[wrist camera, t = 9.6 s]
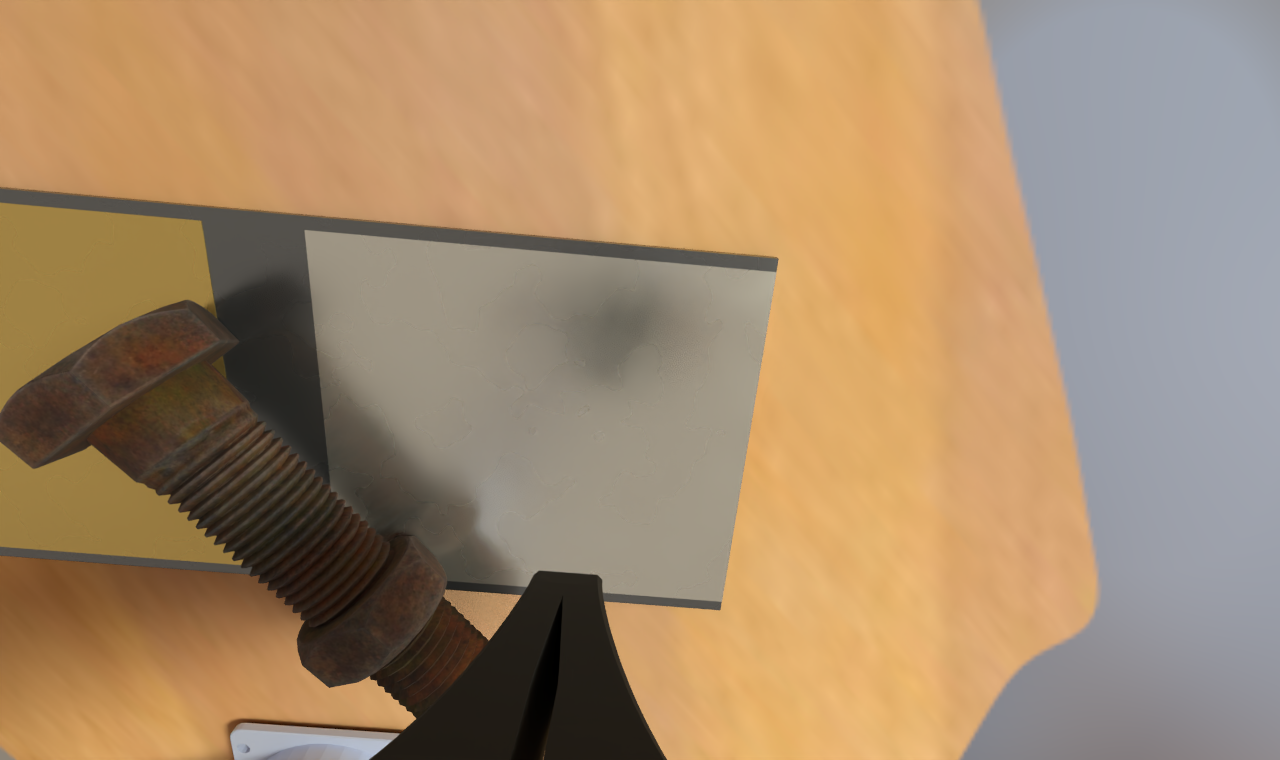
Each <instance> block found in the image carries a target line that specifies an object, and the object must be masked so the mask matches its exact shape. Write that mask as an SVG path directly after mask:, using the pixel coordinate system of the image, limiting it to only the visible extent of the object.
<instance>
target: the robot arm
mask: <svg viewBox="0 0 1280 760" xmlns="http://www.w3.org/2000/svg"><path fill="white" fill-rule="evenodd" d="M230 740H231V745H232V750H233V755H234V760H667V759H666V757H665V756H664V754H663V752H662V750H661V749H660V747H659V745H658V743H657V741H656V739H655V738H654V736H653V734H652V732H651V730H650V728H649V726H648V724H647V722H646V720H645V718H644V716H643V714H642V712H641V710H640V708H639V706H638V704H637V701H636V699H635V697H634V695H633V692H632V690H631V688H630V685H629V683H628V680H627V677H626V675H625V672H624V670H623V667H622V664H621V662H620V659H619V656H618V653H617V650H616V647H615V643H614V640H613V637H612V634H611V630H610V627H609V623H608V619H607V614H606V610H605V605H604V599H603V589H602V579H601V578H600V577H599V576H598V575H594V574H581V573H567V572H554V571H540V570H539V571H538V572H537V573H535V574H534V575H533V577H532V579H531V581H530V583H529V585H528V586H527V588H526V590H525V591H524V593H523V594H522V596H521V598H520V599H519V601H518V602H517V604H516V605H515V607H514V608H513V609H512V611H511V612H510V614H509V615H508V617H507V618H506V619H505V621H504V622H503V623H502V625H501V626H500V627H499V629H498V630H497V631H496V633H495V634H494V635H493V637H492V638H491V639H490V641H489V642H488V643H487V644H486V646H485V647H484V648H483V649H482V650H481V651H480V653H479V654H478V655H477V656H476V657H475V658H474V660H473V661H472V662H471V663H470V664H469V666H468V667H467V668H466V669H465V670H464V671H463V673H462V674H461V675H460V676H459V677H458V678H457V679H456V680H455V681H454V682H453V683H452V684H451V686H450V687H449V688H448V689H447V690H446V691H445V692H444V693H443V694H442V695H441V696H440V697H439V698H438V699H437V700H436V701H435V702H434V703H433V704H432V705H431V706H430V707H429V708H428V709H427V710H426V711H425V712H424V713H422V714H421V715H420V716H419V717H418V718H417V719H416V720H415V721H414V722H413V723H411V724H410V725H409V726H408V727H407V728H406V729H405V730H404V731H403V732H402V733H386V732H372V731H357V730H343V729H329V728H315V727H300V726H286V725H272V724H258V723H240V724H238V725H237V726H236V727H235V728H234V730H233V731H232V732H231V734H230ZM544 753H545V754H544ZM543 757H544V759H543Z"/></svg>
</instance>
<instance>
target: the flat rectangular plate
mask: <svg viewBox="0 0 1280 760" xmlns="http://www.w3.org/2000/svg"><path fill="white" fill-rule="evenodd" d="M777 265H778V258H777V257H768V256H757V255H746V254H735V253H724V252H713V251H702V250H691V249H680V248H669V247H657V246H646V245H635V244H624V243H613V242H602V241H591V240H580V239H569V238H558V237H547V236H535V235H524V234H513V233H502V232H491V231H480V230H469V229H458V228H447V227H436V226H425V225H413V224H402V223H391V222H380V221H369V220H358V219H347V218H336V217H325V216H314V215H303V214H291V213H280V212H269V211H258V210H247V209H236V208H225V207H214V206H203V205H192V204H181V203H169V202H158V201H147V200H136V199H125V198H114V197H103V196H92V195H81V194H70V193H59V192H47V191H36V190H25V189H14V188H3V187H0V412H1V410H2V409H3V407H4V405H5V404H6V402H7V401H8V399H9V398H10V397H11V396H12V395H13V394H14V393H15V392H16V391H17V390H18V389H19V388H21V387H22V386H24V385H25V384H26V383H28V382H29V381H31V380H32V379H34V378H35V377H37V376H38V375H40V374H41V373H43V372H44V371H46V370H47V369H49V368H50V367H52V366H53V365H55V364H56V363H57V362H59V361H60V360H62V359H63V358H65V357H66V356H68V355H70V354H71V353H73V352H75V351H76V350H78V349H80V348H81V347H83V346H85V345H86V344H88V343H90V342H91V341H93V340H95V339H96V338H98V337H100V336H101V335H103V334H105V333H107V332H108V331H110V330H112V329H113V328H115V327H117V326H118V325H120V324H122V323H125V322H127V321H129V320H132V319H134V318H136V317H139V316H141V315H144V314H146V313H149V312H151V311H153V310H156V309H158V308H161V307H163V306H167V305H170V304H173V303H177V302H180V301H183V300H191V301H194V302H195V303H197V304H199V305H201V306H202V307H204V308H205V309H206V310H208V311H209V312H210V313H212V314H213V315H214V316H215V317H216V318H217V319H218V320H219V321H220V322H221V323H222V324H223V325H224V326H225V327H226V328H227V329H228V330H229V331H230V332H231V333H232V334H233V335H234V336H235V337H236V338H237V339H238V340H239V343H238V344H237V345H236V346H234V347H233V348H232V349H231V350H229V351H228V352H227V353H225V354H224V355H223V356H222V357H220V358H219V359H218V360H216V361H215V362H214V363H213V364H212V365H213V366H214V367H215V368H216V369H217V370H218V371H219V372H220V373H221V374H222V375H223V376H224V377H225V378H226V379H227V380H228V381H229V382H230V383H231V384H232V385H233V386H234V387H235V388H236V389H237V390H238V391H239V392H240V393H241V394H242V395H243V396H244V397H245V398H246V399H247V400H248V401H249V404H250V407H251V408H252V409H253V410H254V411H255V412H256V413H257V414H258V419H257V422H260V421H265V422H266V423H267V424H266V427H265V430H264V431H268V430H272V429H273V430H274V431H275V433H274V436H273V439H275V438H279V437H281V438H282V439H283V442H282V445H281V447H283V446H287V445H289V446H290V447H291V451H290V454H289V455H291V454H295V453H298V454H299V459H298V462H297V463H299V462H302V461H306V462H307V467H306V470H308V469H314V470H315V474H314V478H316V477H319V476H321V477H322V478H323V482H322V485H324V484H329V485H330V486H331V489H330V493H331V492H337V493H338V497H337V500H339V499H344V500H346V502H345V506H344V507H348V506H352V508H353V513H352V514H356V513H359V514H360V516H361V520H360V521H363V520H366V521H367V522H368V528H371V527H373V528H375V530H376V533H375V535H376V534H380V535H382V537H383V541H387V542H388V541H390V540H392V539H394V538H396V537H399V536H415V537H416V538H417V539H418V540H419V541H420V542H421V543H422V544H423V545H425V546H426V547H427V548H428V549H429V550H430V551H431V552H432V553H433V554H434V555H435V556H436V558H437V559H438V561H439V563H440V564H441V566H442V567H443V569H444V571H445V573H446V577H447V585H446V588H445V589H449V590H462V591H475V592H488V593H501V594H514V595H522V594H523V593H524V591H525V590H526V588H527V586H528V585H529V583H530V581H531V579H532V577H533V575H534V574H535V573H537V572H538V571H539V570H540V571H554V572H567V573H581V574H594V575H598V576H599V577H600V578H601V579H602V589H603V599H604V601H606V602H620V603H633V604H646V605H659V606H672V607H685V608H699V609H712V610H720V609H721V603H722V597H723V591H724V585H725V579H726V573H727V567H728V561H729V555H730V549H731V543H732V537H733V531H734V525H735V519H736V513H737V507H738V501H739V495H740V489H741V483H742V477H743V471H744V465H745V459H746V453H747V447H748V441H749V435H750V429H751V422H752V416H753V410H754V404H755V398H756V392H757V386H758V380H759V374H760V368H761V362H762V356H763V350H764V344H765V338H766V332H767V326H768V320H769V314H770V308H771V302H772V296H773V290H774V284H775V278H776V271H777ZM170 496H171V495H170V494H169V495H161V496H159V495H157V494H156V491H155V490H154V489H151V488H148V487H147V486H146V485H145V484H142V483H136V482H135V481H134V480H133V479H131V478H130V477H129V476H128V475H127V474H126V473H124V472H123V471H122V470H121V469H120V468H118V467H117V466H116V465H115V464H114V463H112V462H111V461H110V460H109V459H108V458H106V457H105V456H104V455H103V454H102V453H101V452H99V451H98V450H97V449H96V448H95V447H93V446H92V445H91V446H89V447H88V448H86V449H85V450H83V451H80V452H78V453H75V454H73V455H70V456H67V457H65V458H62V459H60V460H57V461H54V462H52V463H49V464H47V465H44V466H42V467H39V468H36V469H32V468H31V467H30V466H29V465H27V464H26V463H25V462H24V461H23V460H21V459H20V458H19V457H18V456H17V455H15V454H14V453H13V452H12V451H10V450H9V449H8V448H7V447H6V446H4V445H3V444H2V443H1V442H0V555H1V556H14V557H27V558H41V559H54V560H67V561H80V562H93V563H106V564H120V565H133V566H146V567H159V568H172V569H185V570H198V571H212V572H225V573H238V574H250V572H251V569H252V567H248V568H243V569H242V568H241V564H242V562H243V559H242V560H238V561H233V560H232V557H233V555H234V551H233V552H228V553H223V550H224V547H225V545H226V543H225V544H220V545H214V542H215V539H216V537H217V536H211V537H207V538H206V537H205V536H204V534H205V532H206V530H207V528H203V529H197V528H196V525H197V523H198V521H199V519H196V520H192V521H188V520H187V517H188V515H189V513H190V511H189V512H182V513H179V511H178V508H179V506H180V504H181V503H178V504H169V503H168V502H167V501H168V500H169V498H170Z"/></svg>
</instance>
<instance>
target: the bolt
mask: <svg viewBox="0 0 1280 760" xmlns="http://www.w3.org/2000/svg"><path fill="white" fill-rule="evenodd" d="M238 343H239V340H238V339H237V338H236V337H235V336H234V335H233V334H232V333H231V332H230V331H229V330H228V329H227V328H226V327H225V326H224V325H223V324H222V323H221V322H220V321H219V320H218V319H217V318H216V317H215V316H214V315H213V314H212V313H210V312H209V311H208V310H206V309H205V308H204V307H202V306H201V305H199V304H197V303H195V302H194V301H191V300H183V301H180V302H177V303H173V304H170V305H167V306H163V307H161V308H158V309H156V310H153V311H151V312H149V313H146V314H144V315H141V316H139V317H136V318H134V319H132V320H129V321H127V322H125V323H122V324H120V325H118V326H117V327H115V328H113V329H112V330H110V331H108V332H107V333H105V334H103V335H101V336H100V337H98V338H96V339H95V340H93V341H91V342H90V343H88V344H86V345H85V346H83V347H81V348H80V349H78V350H76V351H75V352H73V353H71V354H70V355H68V356H66V357H65V358H63V359H62V360H60V361H59V362H57V363H56V364H55V365H53V366H52V367H50V368H49V369H47V370H46V371H44V372H43V373H41V374H40V375H38V376H37V377H35V378H34V379H32V380H31V381H29V382H28V383H26V384H25V385H24V386H22V387H21V388H19V389H18V390H17V391H16V392H15V393H14V394H13V395H12V396H11V397H10V398H9V399H8V401H7V402H6V404H5V405H4V407H3V409H2V410H1V412H0V442H1V443H2V444H3V445H4V446H6V447H7V448H8V449H9V450H10V451H12V452H13V453H14V454H15V455H17V456H18V457H19V458H20V459H21V460H23V461H24V462H25V463H26V464H27V465H29V466H30V467H31V468H32V469H36V468H39V467H42V466H44V465H47V464H49V463H52V462H54V461H57V460H60V459H62V458H65V457H67V456H70V455H73V454H75V453H78V452H80V451H83V450H85V449H86V448H88V447H89V446H91V445H92V446H93V447H95V448H96V449H97V450H98V451H99V452H101V453H102V454H103V455H104V456H105V457H106V458H108V459H109V460H110V461H111V462H112V463H114V464H115V465H116V466H117V467H118V468H120V469H121V470H122V471H123V472H124V473H126V474H127V475H128V476H129V477H130V478H131V479H133V480H134V481H135V482H136V483H142V484H145V485H146V486H147V487H148V488H151V489H154V490H155V491H156V494H157V495H159V496H161V495H169V494H170V495H171V496H170V498H169V500H168V501H167V502H168V503H169V504H178V503H181V504H180V506H179V508H178V511H179V513H182V512H189V511H190V513H189V515H188V517H187V520H188V521H192V520H196V519H199V521H198V523H197V525H196V528H197V529H203V528H207V530H206V532H205V534H204V536H205V537H206V538H207V537H211V536H217V537H216V539H215V542H214V545H220V544H225V543H226V545H225V547H224V550H223V553H228V552H233V551H234V555H233V557H232V560H233V561H238V560H242V559H243V562H242V564H241V568H242V569H243V568H248V567H252V569H251V572H250V574H249V575H250V576H256V575H260V578H259V581H258V583H266V582H269V584H268V589H267V590H276V589H277V593H276V597H277V598H282V597H286V598H285V603H284V604H285V605H293V604H294V605H293V610H292V612H293V613H298V612H301V620H305V622H304V624H303V625H302V627H301V630H300V632H299V634H298V638H297V645H298V653H299V656H300V660H301V663H302V666H304V667H305V668H306V669H307V670H308V671H310V672H311V673H312V674H313V675H314V676H316V677H317V678H318V679H319V680H320V681H322V682H323V683H324V684H325V685H326V686H328V687H329V688H330V687H335V686H341V685H346V684H351V683H357V682H359V681H361V680H363V679H365V678H367V677H369V676H370V679H371V680H377V684H378V686H382V687H384V689H385V692H387V693H391V696H392V697H393V699H395V700H399V704H400V705H403V706H405V707H406V709H407V711H409V712H412V713H413V715H414V716H415V717H416V718H418V717H419V716H420V715H421V714H422V713H424V712H425V711H426V710H427V709H428V708H429V707H430V706H431V705H432V704H433V703H434V702H435V701H436V700H437V699H438V698H439V697H440V696H441V695H442V694H443V693H444V692H445V691H446V690H447V689H448V688H449V687H450V686H451V684H452V683H453V682H454V681H455V680H456V679H457V678H458V677H459V676H460V675H461V674H462V673H463V671H464V670H465V669H466V668H467V667H468V666H469V664H470V663H471V662H472V661H473V660H474V658H475V657H476V656H477V655H478V654H479V653H480V651H481V650H482V649H483V648H484V647H485V646H486V644H487V643H488V642H489V641H488V640H487V638H486V637H484V636H483V635H482V633H481V632H480V631H478V630H476V628H475V627H474V625H470V621H468V620H466V619H465V618H464V616H463V615H462V614H460V613H459V612H458V611H457V610H456V608H455V607H453V606H451V603H450V602H448V601H447V600H445V598H444V597H443V595H444V592H445V588H446V585H447V577H446V573H445V571H444V569H443V567H442V566H441V564H440V563H439V561H438V559H437V558H436V556H435V555H434V554H433V553H432V552H431V551H430V550H429V549H428V548H427V547H426V546H425V545H423V544H422V543H421V542H420V541H419V540H418V539H417V538H416V537H415V536H399V537H396V538H394V539H392V540H390V541H388V542H387V541H383V537H382V535H380V534H376V535H375V533H376V530H375V528H373V527H371V528H368V522H367V521H366V520H363V521H360V520H361V516H360V514H359V513H356V514H352V513H353V508H352V506H348V507H344V506H345V502H346V500H344V499H339V500H337V497H338V493H337V492H331V493H330V489H331V486H330V485H329V484H324V485H322V482H323V478H322V477H321V476H319V477H316V478H314V474H315V470H314V469H308V470H306V467H307V462H306V461H302V462H299V463H297V462H298V459H299V454H298V453H295V454H291V455H289V454H290V451H291V447H290V446H289V445H287V446H283V447H281V445H282V442H283V439H282V438H281V437H279V438H275V439H273V436H274V433H275V431H274V430H273V429H272V430H268V431H264V430H265V427H266V424H267V423H266V422H265V421H260V422H257V419H258V414H257V413H256V412H255V411H254V410H253V409H252V408H251V407H250V404H249V401H248V400H247V399H246V398H245V397H244V396H243V395H242V394H241V393H240V392H239V391H238V390H237V389H236V388H235V387H234V386H233V385H232V384H231V383H230V382H229V381H228V380H227V379H226V378H225V377H224V376H223V375H222V374H221V373H220V372H219V371H218V370H217V369H216V368H215V367H214V366H213V365H212V364H213V363H214V362H215V361H216V360H218V359H219V358H220V357H222V356H223V355H224V354H225V353H227V352H228V351H229V350H231V349H232V348H233V347H234V346H236V345H237V344H238Z"/></svg>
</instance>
